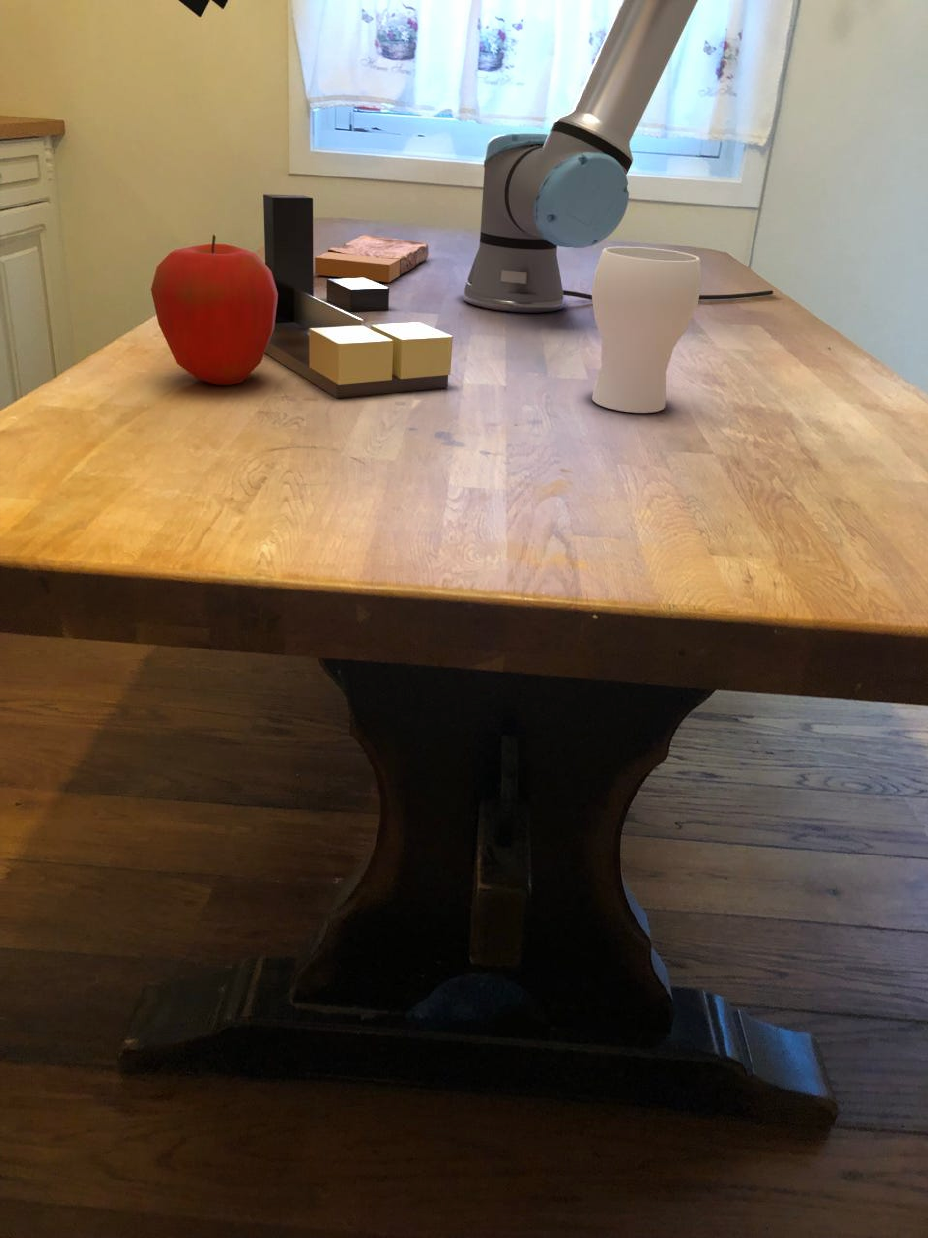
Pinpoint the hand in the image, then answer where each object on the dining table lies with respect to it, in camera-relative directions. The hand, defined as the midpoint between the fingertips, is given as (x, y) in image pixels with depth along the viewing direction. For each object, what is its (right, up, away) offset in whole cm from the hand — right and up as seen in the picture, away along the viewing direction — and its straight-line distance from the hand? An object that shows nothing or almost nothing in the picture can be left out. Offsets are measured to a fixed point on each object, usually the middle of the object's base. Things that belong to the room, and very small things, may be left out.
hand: (199, 4), depth 102 cm
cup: (+46, -43, -1) cm, 63 cm away
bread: (+13, -4, +66) cm, 67 cm away
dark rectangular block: (+13, -20, +35) cm, 43 cm away
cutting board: (+12, -35, +9) cm, 38 cm away
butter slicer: (+12, -33, +9) cm, 36 cm away
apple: (+3, -41, -4) cm, 42 cm away
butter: (+19, -40, -2) cm, 44 cm away
